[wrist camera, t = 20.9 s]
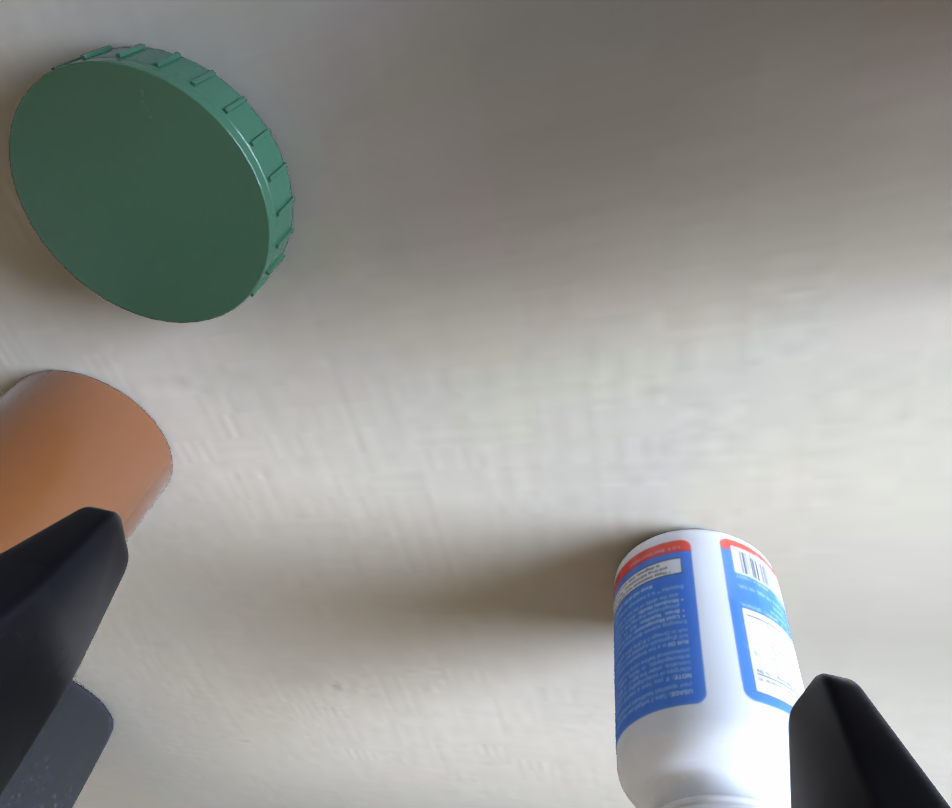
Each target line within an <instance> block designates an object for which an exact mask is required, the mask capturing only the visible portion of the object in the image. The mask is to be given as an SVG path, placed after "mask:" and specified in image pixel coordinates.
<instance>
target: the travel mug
mask: <svg viewBox="0 0 952 808" xmlns="http://www.w3.org/2000/svg"><path fill="white" fill-rule="evenodd" d="M112 730H113V719H112V717H111V714H110V713H109V711H108V710H107V708H106V707H105V706H104V705H103V704H102V703H101V702H100V701H99V700H98V699H97V698H96V697H95V696H94V695H93V694H91V693H90V692H89V691H87V690H86V689H84V688H83V687H81V686H80V685H78V684H76V683H74V682H73V681H71V683H70V684H69V686H68V688H67V689H66V691H65V693H64V694H63V696H62V698H61V699H60V701H59V703H58V704H57V706H56V708H55V709H54V711H53V712H52V714H51V716H50V717H49V719H48V720H47V722H46V724H45V725H44V727H43V728H42V730H41V732H40V733H39V735H38V736H37V738H36V740H35V741H34V743H33V745H32V746H31V748H30V749H29V751H28V753H27V754H26V756H25V757H24V759H23V761H22V762H21V764H20V765H19V767H18V769H17V770H16V772H15V773H14V775H13V777H12V778H11V780H10V782H9V783H8V785H7V786H6V788H5V790H4V791H3V793H2V794H1V796H0V808H72V807H73V805H74V803H75V801H76V799H77V798H78V796H79V794H80V792H81V790H82V788H83V786H84V785H85V783H86V781H87V779H88V777H89V775H90V774H91V772H92V770H93V768H94V766H95V764H96V762H97V760H98V759H99V757H100V755H101V753H102V751H103V749H104V747H105V745H106V743H107V741H108V739H109V737H110V735H111V733H112Z"/></svg>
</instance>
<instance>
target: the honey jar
mask: <svg viewBox="0 0 952 808" xmlns="http://www.w3.org/2000/svg"><path fill="white" fill-rule="evenodd" d="M172 466H173V464H172V456H171V452H170V448H169V446H168V443H167V441H166V439H165V437H164V435H163V434H162V432H161V430H160V429H159V427H158V426H157V425H156V423H155V422H154V421H153V420H152V418H151V417H150V416H149V415H148V414H147V413H146V412H145V411H144V410H143V409H142V408H141V407H140V406H139V405H138V404H136V403H135V402H134V401H133V400H131V399H130V398H129V397H127V396H126V395H124V394H123V393H121V392H120V391H118V390H117V389H115V388H113V387H111V386H109V385H108V384H105V383H103V382H101V381H99V380H96V379H94V378H91V377H88V376H85V375H81V374H77V373H73V372H66V371H44V372H39V373H35V374H31V375H29V376H27V377H25V378H23V379H22V380H20V381H19V382H18V383H17V384H15V385H14V386H13V387H12V388H11V389H10V390H8V391H7V392H6V393H5V394H4V395H3V396H2V397H0V554H1V553H3V552H4V551H6V550H8V549H10V548H11V547H13V546H15V545H17V544H19V543H20V542H22V541H24V540H26V539H27V538H29V537H31V536H33V535H34V534H36V533H38V532H40V531H42V530H43V529H45V528H47V527H49V526H50V525H52V524H54V523H56V522H58V521H59V520H61V519H63V518H65V517H66V516H68V515H70V514H72V513H73V512H75V511H77V510H79V509H81V508H84V507H96V508H101V509H105V510H109V511H114V512H116V513H117V514H118V515H119V516H120V517H121V520H122V524H123V529H124V534H125V539H126V542H127V541H128V539H129V538H130V536H131V535H132V534H133V532H134V531H135V530H136V528H137V527H138V525H139V524H140V523H141V521H142V520H143V518H144V517H145V516H146V514H147V513H148V512H149V510H150V509H151V507H152V506H153V505H154V503H155V502H156V500H157V499H158V498H159V496H160V495H161V494H162V492H163V491H164V489H165V488H166V487H167V485H168V483H169V481H170V478H171V475H172Z"/></svg>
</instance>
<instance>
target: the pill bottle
mask: <svg viewBox="0 0 952 808" xmlns="http://www.w3.org/2000/svg"><path fill="white" fill-rule="evenodd" d="M613 596H614V672H615V680H614V683H615V722H616V755H617V771H618V776H619V780H620V783H621V786H622V788H623V790H624V792H625V794H626V796H627V797H628V798H629V800H630V801H631V802H632V803H633V805H634V806H635V807H636V808H791V799H790V767H789V735H788V721H789V715H790V711H791V709H792V707H793V705H794V704H795V702H796V701H797V700H798V699H799V697H800V696H801V695H802V693H803V692H804V687H803V683H802V679H801V675H800V671H799V667H798V663H797V658H796V655H795V650H794V646H793V642H792V638H791V634H790V630H789V626H788V622H787V617H786V613H785V609H784V604H783V600H782V596H781V592H780V588H779V585H778V581H777V578H776V576H775V573H774V571H773V569H772V567H771V565H770V564H769V562H768V561H767V559H766V558H765V557H764V556H763V555H762V554H761V553H760V552H759V551H758V550H757V549H756V548H754V547H753V546H751V545H750V544H748V543H746V542H744V541H743V540H741V539H738V538H736V537H734V536H731V535H728V534H725V533H721V532H716V531H710V530H700V529H687V530H677V531H671V532H667V533H663V534H660V535H657V536H655V537H652V538H650V539H648V540H646V541H644V542H643V543H641V544H639V545H638V546H636V547H635V548H634V549H633V550H632V551H630V552H629V553H628V554H627V556H626V557H625V558H624V559H623V560H622V562H621V563H620V565H619V567H618V570H617V572H616V576H615V580H614V595H613Z"/></svg>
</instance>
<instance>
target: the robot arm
mask: <svg viewBox="0 0 952 808" xmlns="http://www.w3.org/2000/svg"><path fill="white" fill-rule="evenodd" d="M127 564H128V548H127V544H126V539H125V534H124V529H123V524H122V520H121V517H120V516H119V515H118V514H117V513H116V512H114V511H109V510H105V509H101V508H96V507H84V508H81V509H79V510H77V511H75V512H73V513H72V514H70V515H68V516H66V517H65V518H63V519H61V520H59V521H58V522H56V523H54V524H52V525H50V526H49V527H47V528H45V529H43V530H42V531H40V532H38V533H36V534H34V535H33V536H31V537H29V538H27V539H26V540H24V541H22V542H20V543H19V544H17V545H15V546H13V547H11V548H10V549H8V550H6V551H4V552H3V553H1V554H0V796H1V794H2V793H3V791H4V790H5V788H6V786H7V785H8V783H9V782H10V780H11V778H12V777H13V775H14V773H15V772H16V770H17V769H18V767H19V765H20V764H21V762H22V761H23V759H24V757H25V756H26V754H27V753H28V751H29V749H30V748H31V746H32V745H33V743H34V741H35V740H36V738H37V736H38V735H39V733H40V732H41V730H42V728H43V727H44V725H45V724H46V722H47V720H48V719H49V717H50V716H51V714H52V712H53V711H54V709H55V708H56V706H57V704H58V703H59V701H60V699H61V698H62V696H63V694H64V693H65V691H66V689H67V688H68V686H69V684H70V683H71V681H72V679H73V677H74V675H75V673H76V671H77V669H78V668H79V666H80V664H81V662H82V660H83V658H84V656H85V653H86V651H87V649H88V647H89V645H90V643H91V641H92V639H93V637H94V635H95V633H96V631H97V629H98V627H99V624H100V622H101V620H102V618H103V616H104V614H105V612H106V610H107V608H108V606H109V604H110V602H111V600H112V598H113V595H114V593H115V591H116V589H117V587H118V585H119V583H120V581H121V579H122V577H123V575H124V573H125V570H126V567H127ZM788 735H789V767H790V799H791V808H950V806H949V805H948V804H947V802H946V801H945V800H944V798H943V797H942V796H941V794H940V793H939V792H938V790H937V789H936V788H935V786H934V785H933V784H932V782H931V781H930V780H929V778H928V777H927V776H926V774H925V773H924V772H923V770H922V769H921V768H920V766H919V765H918V764H917V762H916V761H915V760H914V758H913V757H912V756H911V754H910V753H909V752H908V750H907V749H906V748H905V746H904V745H903V744H902V742H901V741H900V740H899V738H898V737H897V736H896V734H895V733H894V732H893V730H892V729H891V727H890V726H889V725H888V723H887V722H886V721H885V719H884V718H883V717H882V715H881V714H880V713H879V711H878V710H877V709H876V707H875V706H874V705H873V703H872V702H871V701H870V699H869V698H868V697H867V695H866V694H865V693H864V691H863V690H862V689H861V688H860V686H859V685H857V684H856V683H855V682H854V681H852V680H850V679H847V678H842V677H838V676H834V675H829V674H820V675H818V676H816V677H815V678H814V679H813V681H812V682H811V683H810V684H809V686H808V687H807V688H806V690H805V691H804V692H803V693H802V695H801V696H800V697H799V699H798V700H797V701H796V702H795V704H794V705H793V707H792V709H791V711H790V715H789V721H788Z"/></svg>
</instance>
